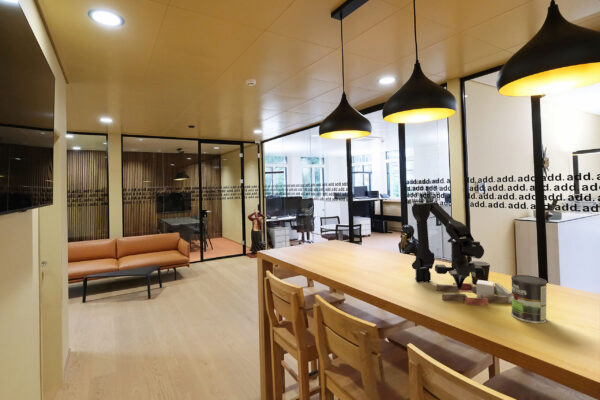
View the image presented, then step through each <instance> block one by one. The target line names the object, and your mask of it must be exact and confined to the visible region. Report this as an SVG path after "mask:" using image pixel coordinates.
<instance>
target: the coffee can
mask: <svg viewBox="0 0 600 400" xmlns="http://www.w3.org/2000/svg"><path fill="white" fill-rule="evenodd" d="M510 279H511V293H512V303H511V313H510V314H511V316H512V317H513V318H515V319H516V320H519V321H522V322H525V323H530V324H544V323H546V322H547V320H548V319H547V284H548V282H547V280H546V279H544V278H541V277H538V276H535V275H533V276H532V275H529V274H528V275H527V274H526V275H524V274H516V275H512V276H511V278H510Z"/></svg>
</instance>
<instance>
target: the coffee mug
mask: <svg viewBox="0 0 600 400" xmlns="http://www.w3.org/2000/svg"><path fill="white" fill-rule="evenodd" d="M469 263H474V264H475V265H479V266H481V267H482V268H483V269H484V270H485V275H477V274H475V272H470V277H471V283H472V284H473V285H474V286H477V281H478V280H483V281H489V276H490V267H491V263H489V262H487V261H482V260H472V261H471V260H470V262H469Z"/></svg>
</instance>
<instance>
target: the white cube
mask: <svg viewBox="0 0 600 400" xmlns="http://www.w3.org/2000/svg"><path fill="white" fill-rule="evenodd" d="M476 286H477V292H476V298H481V295H495V293H494V286H495V282H494V281H490V280H488V281H483V280H478V281H477V285H476Z"/></svg>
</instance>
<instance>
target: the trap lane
mask: <svg viewBox="0 0 600 400" xmlns="http://www.w3.org/2000/svg"><path fill="white" fill-rule="evenodd" d="M435 288H436V292H437V291H438V292H439V291H440V292H442V293H441V299H442V301H453V302H454V301H455V302H463V303H464V304H465V305H471V306H472V305H473V306H475V305H476V306H489V303H493V304H494V303H495V304H498V303H499V304H512V291H509V290H508V289H507V288H506V287H504V286H503V285H501V284H500V283H498V282H494V295H481V298H480V297H468V295H466V292H467V293H477V285H475V284H473V283H472V282H463V284H462V287H461V289H458V287H457V285H456V282H452V284H441V283H440V284H437V283H436V284H435ZM444 292H445V293H444ZM446 292H447V293H446ZM448 292H458V293H448ZM459 292H462V293H459ZM463 292H465V293H463ZM495 294H497V295H495Z"/></svg>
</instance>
